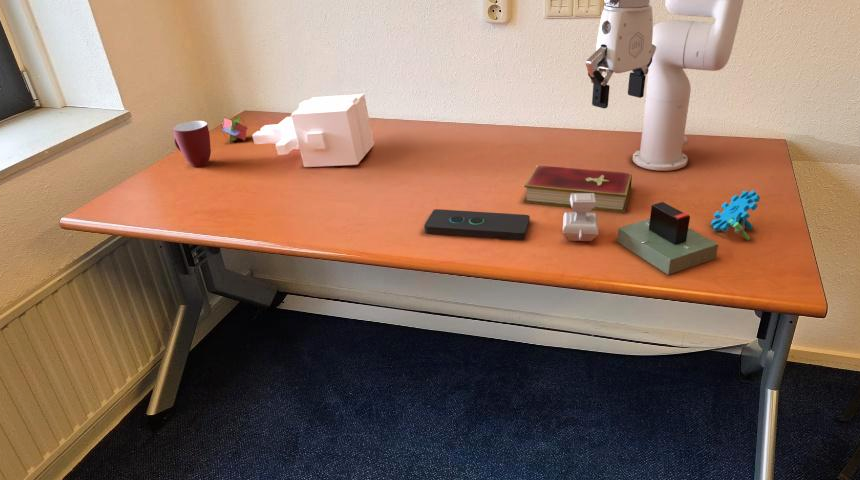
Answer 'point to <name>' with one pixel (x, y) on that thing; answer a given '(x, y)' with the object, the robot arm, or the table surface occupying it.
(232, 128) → the geometric puzzle
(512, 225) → the smart home device
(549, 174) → the hardcover book
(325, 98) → the white voxel figure
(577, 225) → the white square urn
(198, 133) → the mug
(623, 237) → the green base plate
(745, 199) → the blue splat shape
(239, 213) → the table surface
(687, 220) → the black rectangular block
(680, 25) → the robot arm
